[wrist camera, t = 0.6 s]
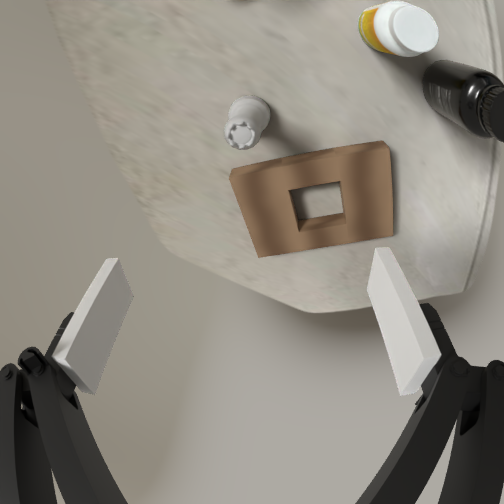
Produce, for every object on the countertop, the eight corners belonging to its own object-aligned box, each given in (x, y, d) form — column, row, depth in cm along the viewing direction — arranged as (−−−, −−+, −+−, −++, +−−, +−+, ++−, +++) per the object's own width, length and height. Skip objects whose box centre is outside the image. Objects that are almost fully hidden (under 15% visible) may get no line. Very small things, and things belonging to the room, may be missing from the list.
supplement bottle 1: (381, -2, 19) (418, -13, 12) (413, 37, 21) (458, 42, 14) (345, 23, 22) (371, 17, 15) (378, 61, 24) (414, 72, 17)
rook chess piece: (245, 139, 32) (235, 168, 26) (221, 109, 30) (204, 130, 24) (279, 118, 30) (277, 142, 24) (254, 86, 28) (246, 101, 22)
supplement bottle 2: (459, 122, 26) (517, 165, 17) (414, 102, 26) (468, 139, 17) (474, 73, 22) (540, 101, 13) (428, 49, 22) (491, 64, 13)
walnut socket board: (382, 140, 30) (389, 148, 28) (388, 224, 37) (393, 235, 35) (232, 168, 35) (228, 178, 33) (259, 245, 42) (258, 257, 40)
